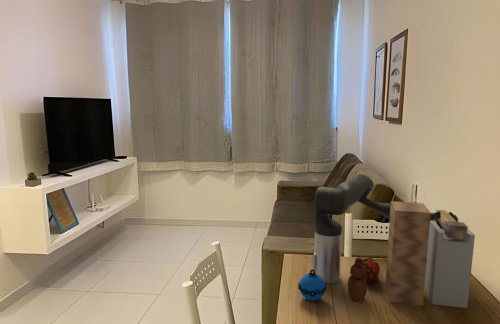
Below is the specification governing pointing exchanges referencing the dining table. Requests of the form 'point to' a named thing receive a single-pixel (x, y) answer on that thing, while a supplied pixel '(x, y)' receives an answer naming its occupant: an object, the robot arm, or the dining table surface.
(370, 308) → the dining table surface
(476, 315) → the dining table surface
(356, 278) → the wooden figurine
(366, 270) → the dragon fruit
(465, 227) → the light wooden block
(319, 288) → the ornament
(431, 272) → the grey post
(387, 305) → the dining table surface
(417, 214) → the walnut post
